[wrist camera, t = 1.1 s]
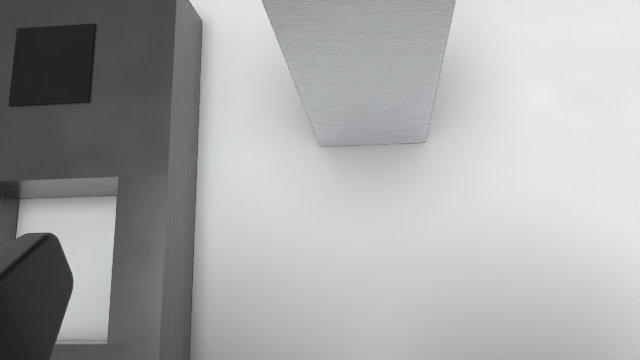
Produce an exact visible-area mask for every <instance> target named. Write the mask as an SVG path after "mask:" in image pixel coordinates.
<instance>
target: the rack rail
mask: <svg viewBox="0 0 640 360" xmlns="http://www.w3.org/2000/svg"><path fill="white" fill-rule="evenodd" d="M201 40H202V20H201V19H200V17H199V15H198V14H197V12H196V11H195V9H194V7H193V6H192V4H191V3H190V1H189V0H0V247H2V246H4V245H6V244H8V243H9V242H11V241H13V240H15V235H16V225H17V215H18V206H19V199H22V198H53V197H84V196H115V195H117V206H116V221H115V235H114V250H113V265H112V280H111V295H110V309H109V324H108V339H107V341H56V343H55V346H54V349H53V352H52V356H51V359H50V360H189V356H190V330H191V304H192V277H193V251H194V224H195V198H196V172H197V145H198V119H199V92H200V66H201Z"/></svg>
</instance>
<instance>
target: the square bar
mask: <svg viewBox="0 0 640 360" xmlns="http://www.w3.org/2000/svg"><path fill="white" fill-rule="evenodd" d="M455 2H456V0H262V3H263V5H264V8H265V10H266V13H267V15H268V18H269V20H270V23H271V25H272V28H273V30H274V33H275V35H276V38H277V40H278V43H279V45H280V48H281V50H282V53H283V55H284V58H285V60H286V63H287V65H288V68H289V70H290V73H291V75H292V78H293V80H294V83H295V85H296V88H297V90H298V93H299V95H300V98H301V100H302V103H303V105H304V108H305V110H306V113H307V115H308V118H309V120H310V123H311V125H312V128H313V130H314V133H315V135H316V138H317V140H318V143H319V145H320V147H326V146H351V145H377V144H402V143H425V142H426V137H427V132H428V128H429V123H430V118H431V114H432V109H433V104H434V100H435V95H436V90H437V86H438V81H439V76H440V72H441V67H442V63H443V58H444V53H445V49H446V44H447V39H448V35H449V30H450V25H451V21H452V16H453V11H454V7H455Z"/></svg>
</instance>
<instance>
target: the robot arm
mask: <svg viewBox="0 0 640 360" xmlns="http://www.w3.org/2000/svg"><path fill="white" fill-rule="evenodd" d="M72 290H73V275H72V272H71V269H70V267H69V264H68V262H67V259H66V257H65V254H64V252H63V249H62V247H61V244H60V242H59V240H58V238H57V237H56V236H55V235H54V234H52V233H28V234H24V235H22V236H20V237H18V238H16V239H15V240H13V241H11V242H9V243H8V244H6V245H4V246H2V247H0V360H50V359H51V356H52V352H53V349H54V346H55V343H56V340H57V337H58V334H59V331H60V328H61V324H62V321H63V318H64V315H65V312H66V309H67V306H68V303H69V300H70V297H71V293H72Z"/></svg>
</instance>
